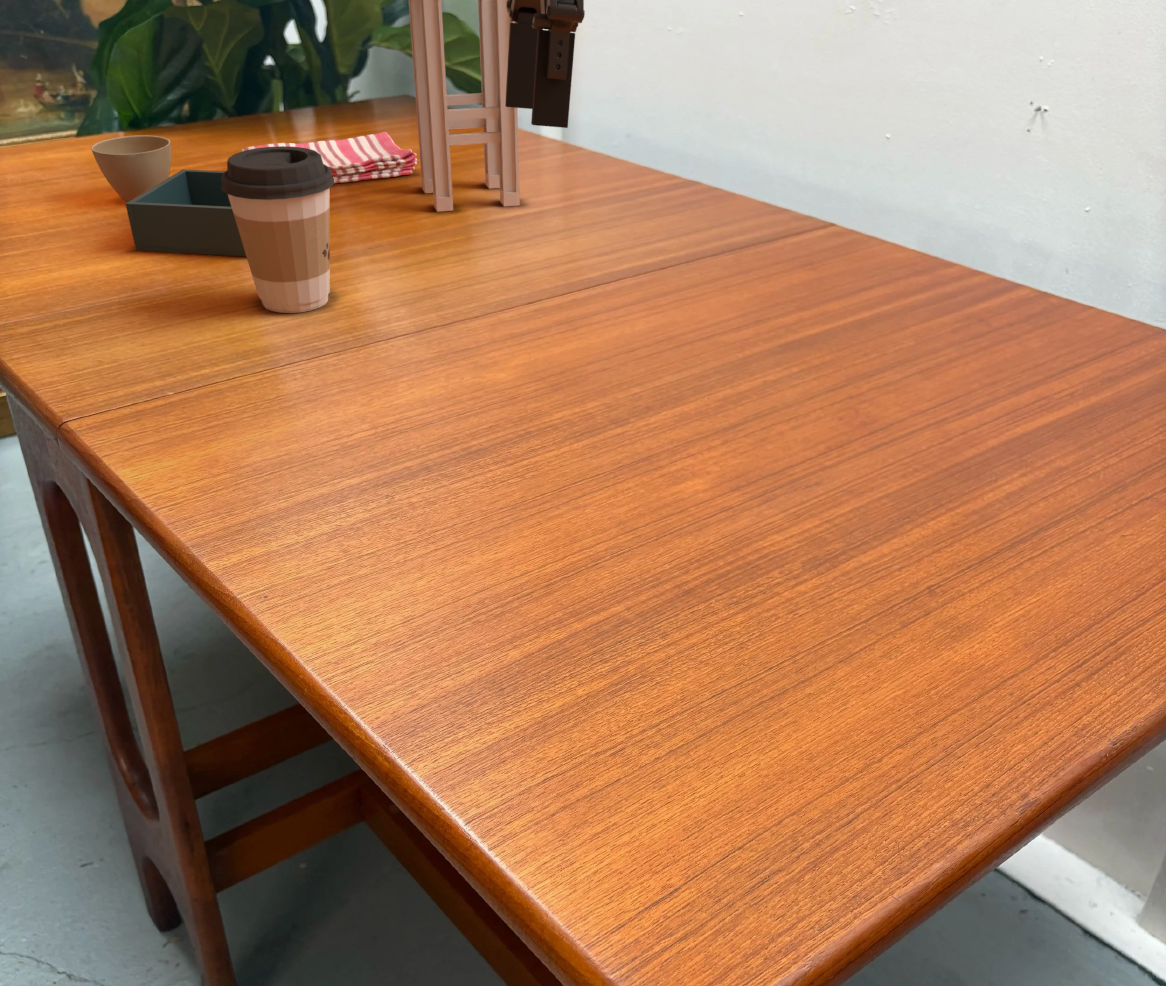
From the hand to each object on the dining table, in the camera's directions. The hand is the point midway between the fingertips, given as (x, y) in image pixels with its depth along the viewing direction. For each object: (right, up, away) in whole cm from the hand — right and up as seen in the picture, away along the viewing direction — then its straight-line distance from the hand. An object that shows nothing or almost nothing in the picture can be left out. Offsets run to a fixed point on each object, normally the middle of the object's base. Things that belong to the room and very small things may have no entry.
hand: (534, 116), depth 90 cm
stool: (-12, +15, +63) cm, 66 cm away
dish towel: (-34, +24, +74) cm, 85 cm away
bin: (-41, +6, +48) cm, 64 cm away
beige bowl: (-56, +14, +61) cm, 84 cm away
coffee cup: (-27, -8, +30) cm, 41 cm away
